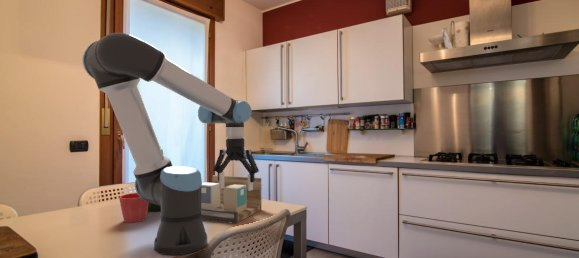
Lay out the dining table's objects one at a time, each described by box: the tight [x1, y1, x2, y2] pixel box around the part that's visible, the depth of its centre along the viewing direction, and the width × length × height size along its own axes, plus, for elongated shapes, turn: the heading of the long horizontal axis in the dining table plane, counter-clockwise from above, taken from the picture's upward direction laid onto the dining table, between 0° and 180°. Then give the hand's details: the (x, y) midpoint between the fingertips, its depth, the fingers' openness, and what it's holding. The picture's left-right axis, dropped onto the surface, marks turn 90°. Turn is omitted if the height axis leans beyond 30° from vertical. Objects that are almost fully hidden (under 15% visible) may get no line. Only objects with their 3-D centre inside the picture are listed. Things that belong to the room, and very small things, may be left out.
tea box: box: [224, 184, 247, 213], centre depth 124 cm, size 8×6×10 cm
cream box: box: [201, 181, 220, 209], centre depth 130 cm, size 6×8×10 cm
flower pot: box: [118, 192, 149, 223], centre depth 118 cm, size 11×11×10 cm
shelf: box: [201, 174, 262, 224], centre depth 127 cm, size 21×25×14 cm
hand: (235, 189), depth 124 cm, fingers open, 13 cm apart
